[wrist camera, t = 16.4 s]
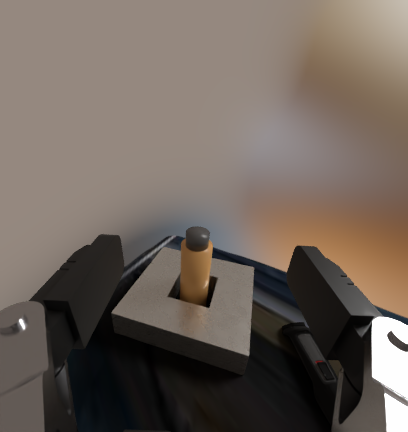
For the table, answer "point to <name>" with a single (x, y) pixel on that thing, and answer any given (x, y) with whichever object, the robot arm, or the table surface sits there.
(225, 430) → the table surface
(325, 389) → the electric trimmer
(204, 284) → the plug
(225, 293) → the grey square-holed plate
